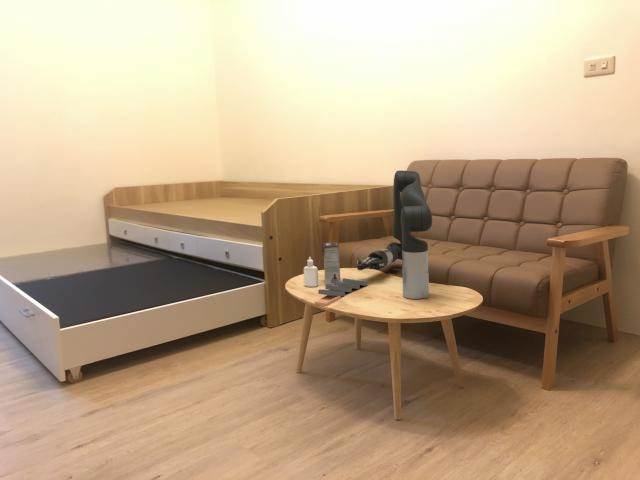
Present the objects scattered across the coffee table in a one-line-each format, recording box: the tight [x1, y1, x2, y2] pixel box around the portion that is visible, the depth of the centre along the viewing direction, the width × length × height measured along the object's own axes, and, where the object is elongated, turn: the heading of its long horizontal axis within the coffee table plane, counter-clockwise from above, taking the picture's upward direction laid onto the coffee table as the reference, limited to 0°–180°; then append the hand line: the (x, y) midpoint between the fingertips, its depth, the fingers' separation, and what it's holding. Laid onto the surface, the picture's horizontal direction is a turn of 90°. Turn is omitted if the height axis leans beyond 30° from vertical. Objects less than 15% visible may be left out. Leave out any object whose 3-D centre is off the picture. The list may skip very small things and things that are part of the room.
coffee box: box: [323, 241, 341, 286], centre depth 219 cm, size 9×6×16 cm
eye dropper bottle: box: [303, 256, 319, 288], centre depth 214 cm, size 4×6×12 cm
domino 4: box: [333, 281, 361, 290], centre depth 206 cm, size 2×5×10 cm
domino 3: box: [324, 285, 353, 293], centre depth 202 cm, size 2×5×10 cm
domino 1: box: [317, 288, 346, 297], centre depth 197 cm, size 2×5×10 cm
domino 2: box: [313, 295, 342, 307], centre depth 194 cm, size 2×5×10 cm
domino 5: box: [342, 277, 369, 287], centre depth 210 cm, size 2×5×10 cm
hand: (359, 267), depth 211 cm, fingers closed
